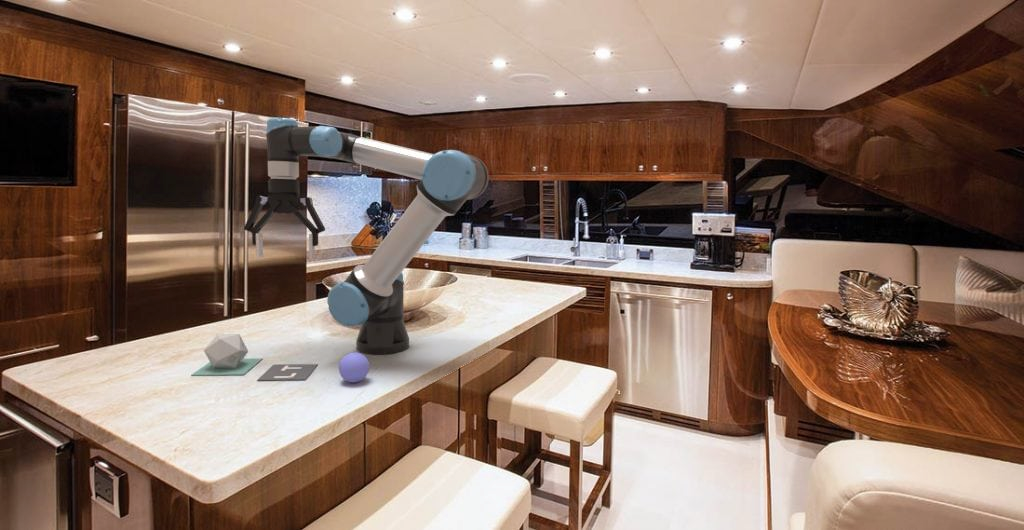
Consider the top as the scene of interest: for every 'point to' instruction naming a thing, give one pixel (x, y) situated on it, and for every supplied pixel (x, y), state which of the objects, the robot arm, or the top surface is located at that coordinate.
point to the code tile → (288, 372)
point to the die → (226, 351)
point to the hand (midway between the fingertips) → (286, 257)
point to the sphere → (354, 367)
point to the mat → (228, 369)
